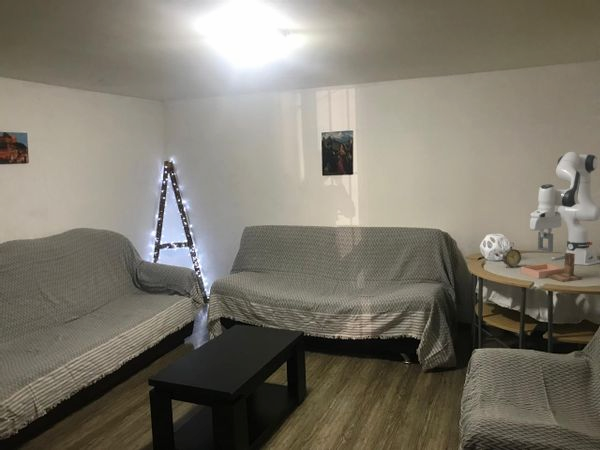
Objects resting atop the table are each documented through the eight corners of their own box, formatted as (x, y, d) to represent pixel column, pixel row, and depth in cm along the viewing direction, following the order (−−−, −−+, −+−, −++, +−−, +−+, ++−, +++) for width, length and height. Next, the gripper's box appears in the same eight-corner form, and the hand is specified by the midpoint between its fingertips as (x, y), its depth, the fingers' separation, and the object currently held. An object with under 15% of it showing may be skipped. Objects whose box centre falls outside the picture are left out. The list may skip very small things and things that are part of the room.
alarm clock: (505, 268, 304) (506, 243, 302) (500, 266, 310) (501, 242, 307) (521, 267, 307) (522, 242, 304) (515, 265, 312) (516, 241, 309)
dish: (546, 269, 298) (546, 263, 298) (565, 274, 285) (565, 268, 285) (520, 273, 292) (521, 266, 292) (538, 278, 279) (539, 271, 278)
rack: (566, 275, 284) (567, 251, 282) (581, 279, 275) (582, 254, 273) (544, 278, 279) (545, 254, 277) (558, 282, 270) (559, 257, 268)
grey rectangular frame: (541, 248, 284) (541, 231, 282) (552, 251, 276) (553, 233, 274) (537, 249, 283) (538, 232, 281) (549, 252, 275) (550, 234, 273)
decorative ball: (502, 256, 341) (503, 231, 338) (515, 262, 321) (516, 236, 319) (474, 257, 340) (475, 232, 338) (486, 263, 320) (487, 237, 318)
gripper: (555, 210, 282) (555, 233, 284) (528, 214, 276) (527, 237, 278) (564, 211, 276) (563, 235, 278) (536, 215, 270) (536, 239, 272)
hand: (545, 236), depth 278 cm, fingers closed on grey rectangular frame, 2 cm apart
